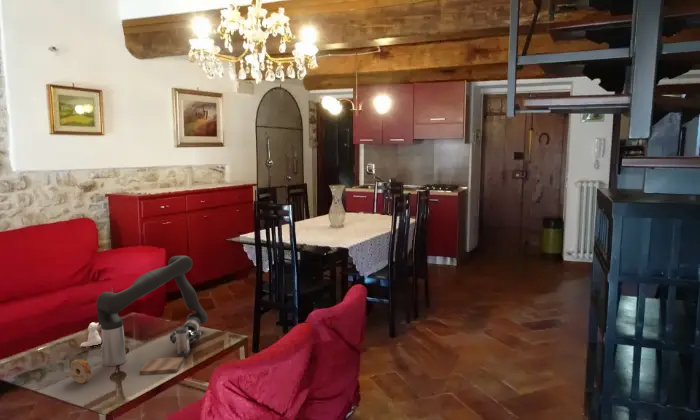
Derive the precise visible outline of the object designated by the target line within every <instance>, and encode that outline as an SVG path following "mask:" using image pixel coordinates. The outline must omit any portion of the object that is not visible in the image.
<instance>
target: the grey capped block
mask: <svg viewBox="0 0 700 420" xmlns="http://www.w3.org/2000/svg"><path fill="white" fill-rule="evenodd" d="M175 333H176V339H177V341H176V351H177V353H176V357H184V358H187V357H188V356H189V354H190V353H191V347H190V339H189V334H188V327H183V326H178V327H177V328H176V329H175Z"/></svg>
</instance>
